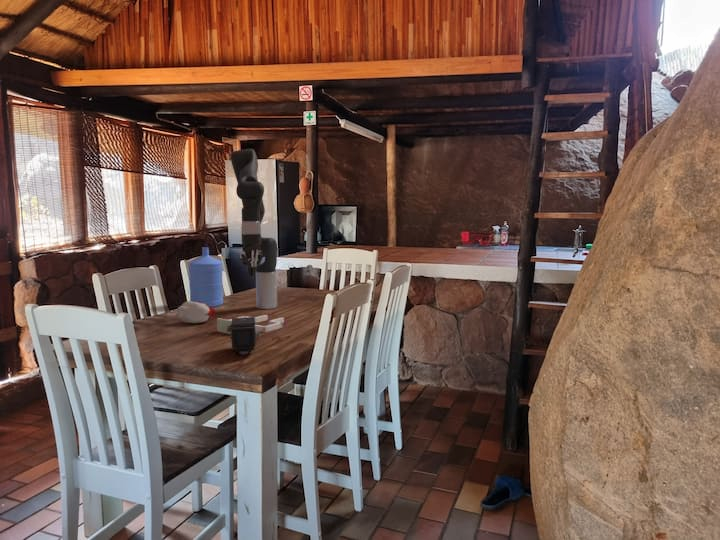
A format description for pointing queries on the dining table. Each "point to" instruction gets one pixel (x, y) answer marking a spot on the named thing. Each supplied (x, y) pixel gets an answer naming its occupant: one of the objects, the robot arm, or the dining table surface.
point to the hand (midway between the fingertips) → (252, 276)
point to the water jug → (206, 280)
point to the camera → (243, 334)
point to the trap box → (271, 325)
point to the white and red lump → (194, 312)
